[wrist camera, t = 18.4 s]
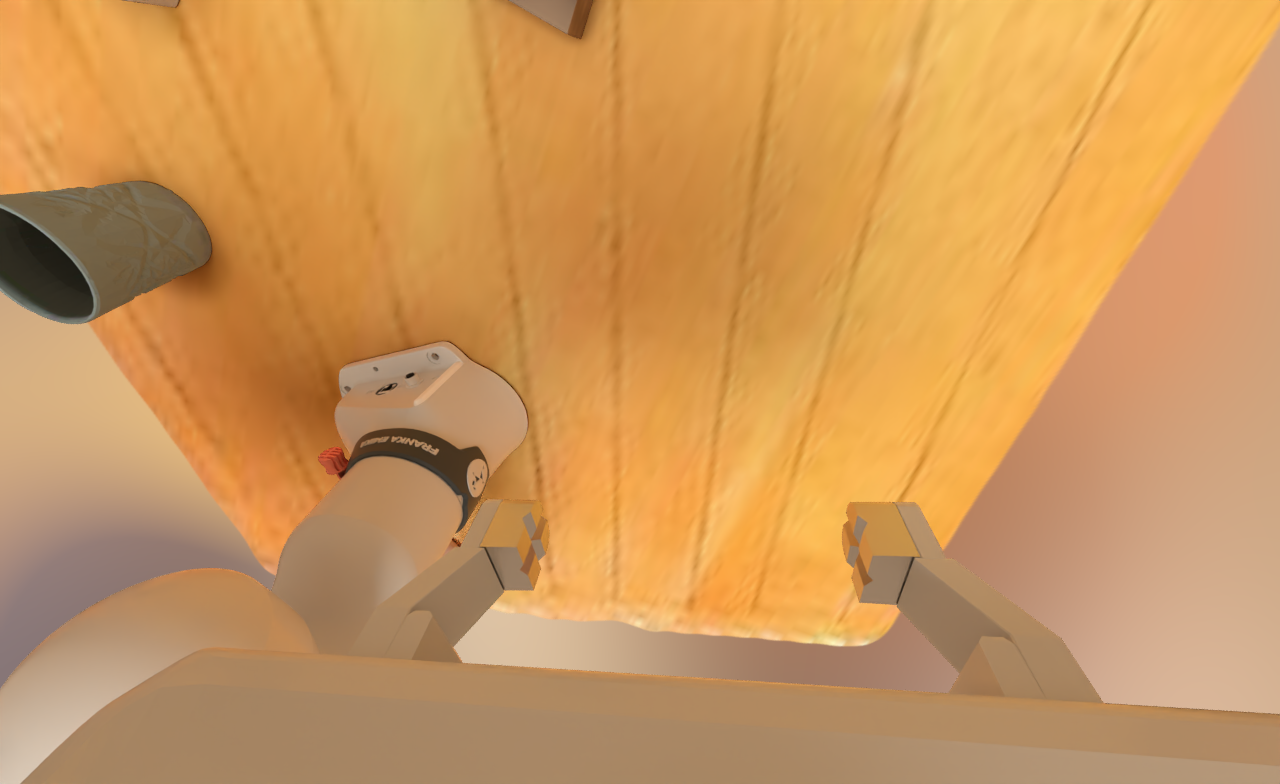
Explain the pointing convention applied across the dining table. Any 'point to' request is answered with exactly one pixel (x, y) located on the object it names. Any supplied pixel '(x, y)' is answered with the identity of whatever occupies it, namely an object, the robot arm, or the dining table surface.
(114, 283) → the grey green cup
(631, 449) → the dining table surface
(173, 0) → the coffee box
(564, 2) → the display stand
